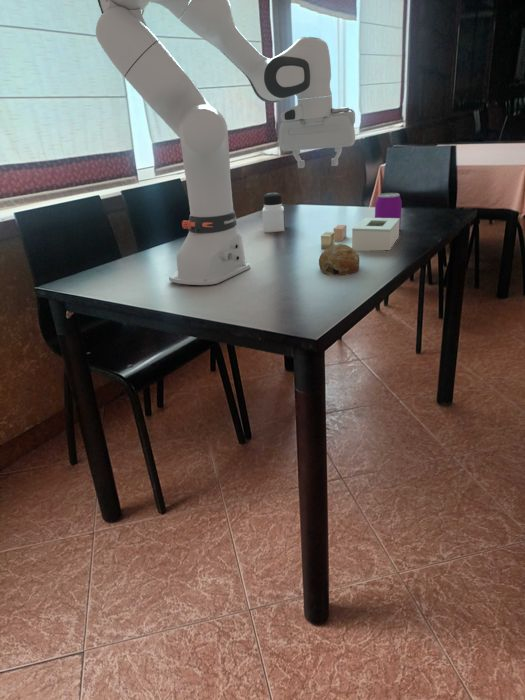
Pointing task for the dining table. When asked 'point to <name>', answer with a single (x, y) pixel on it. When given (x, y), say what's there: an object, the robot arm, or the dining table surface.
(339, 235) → the salmon pink block
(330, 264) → the bread roll
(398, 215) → the beverage can
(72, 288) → the dining table surface
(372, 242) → the box
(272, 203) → the medicine bottle
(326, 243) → the maple token
